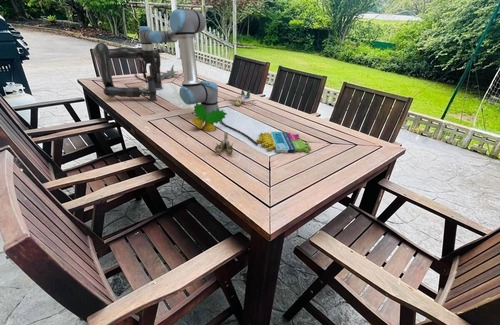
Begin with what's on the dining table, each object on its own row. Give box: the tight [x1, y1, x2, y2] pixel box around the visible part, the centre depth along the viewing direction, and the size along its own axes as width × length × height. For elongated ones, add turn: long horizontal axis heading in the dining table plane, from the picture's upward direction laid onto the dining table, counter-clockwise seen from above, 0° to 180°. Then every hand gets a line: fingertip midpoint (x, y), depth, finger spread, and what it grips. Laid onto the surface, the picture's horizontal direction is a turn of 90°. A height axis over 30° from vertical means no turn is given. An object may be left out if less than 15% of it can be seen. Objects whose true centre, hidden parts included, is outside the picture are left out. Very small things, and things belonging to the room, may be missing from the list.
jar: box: [147, 80, 158, 102], centre depth 204 cm, size 5×5×18 cm
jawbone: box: [214, 131, 234, 156], centre depth 136 cm, size 9×15×10 cm
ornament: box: [191, 102, 228, 132], centre depth 162 cm, size 21×8×15 cm, turn 105°
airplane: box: [160, 64, 183, 81], centre depth 280 cm, size 38×31×10 cm
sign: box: [255, 131, 312, 154], centre depth 152 cm, size 26×2×30 cm
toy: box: [223, 89, 257, 106], centre depth 219 cm, size 28×7×30 cm
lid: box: [146, 75, 155, 81], centre depth 200 cm, size 6×6×2 cm
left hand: (155, 92), depth 206 cm, fingers closed on jar, 5 cm apart
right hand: (151, 82), depth 202 cm, fingers open, 6 cm apart
